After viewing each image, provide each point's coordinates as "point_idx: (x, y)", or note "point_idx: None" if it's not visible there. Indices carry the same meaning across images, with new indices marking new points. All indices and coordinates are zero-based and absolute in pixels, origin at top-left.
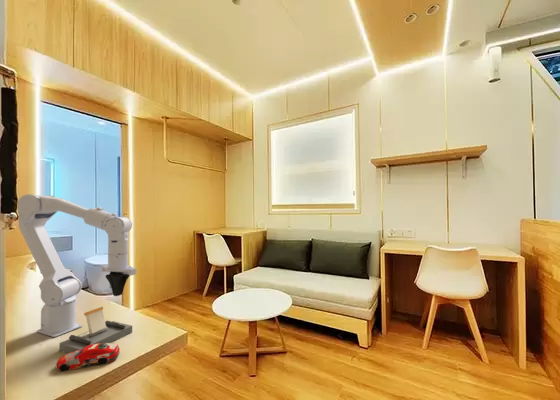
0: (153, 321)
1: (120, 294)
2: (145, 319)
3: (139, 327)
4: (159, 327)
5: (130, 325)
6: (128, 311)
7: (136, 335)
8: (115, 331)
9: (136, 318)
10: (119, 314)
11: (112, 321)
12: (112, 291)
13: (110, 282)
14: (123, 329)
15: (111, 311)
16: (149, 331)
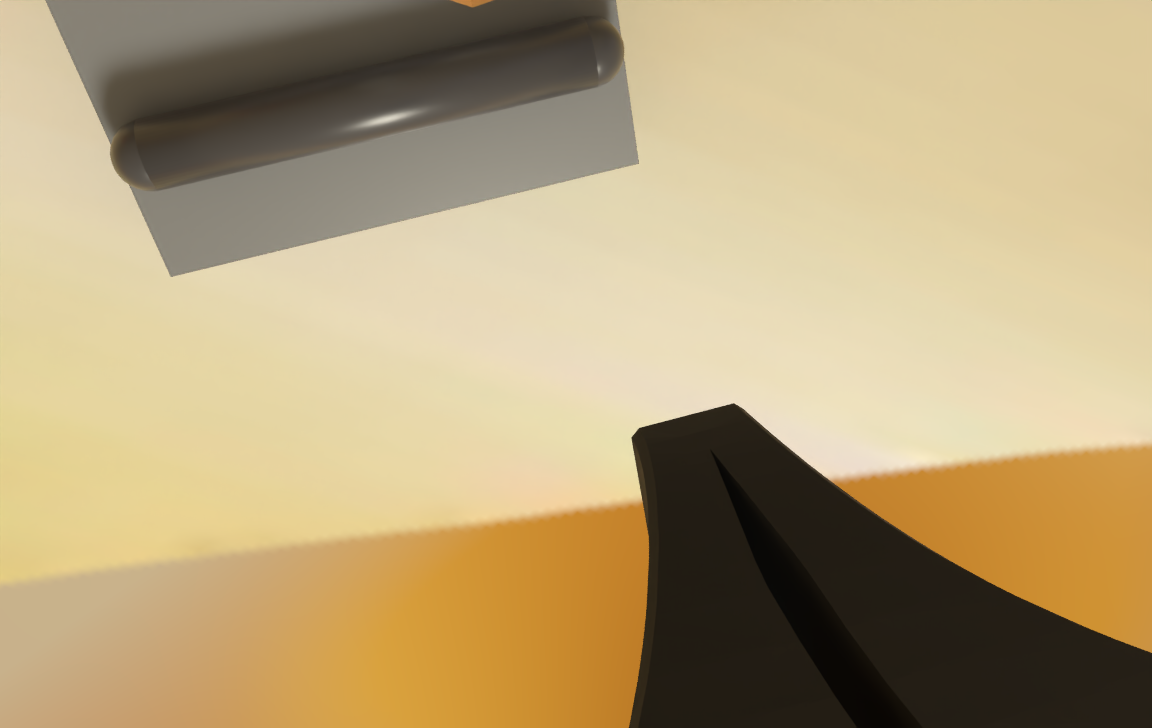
0: (324, 522)
1: (647, 524)
2: (480, 485)
3: (277, 350)
4: (51, 503)
5: (205, 262)
6: (929, 445)
7: (11, 224)
8: (138, 13)
9: (618, 429)
10: (952, 346)
11: (629, 152)
12: (787, 455)
13: (954, 626)
14: (116, 131)
15: (1144, 318)
16: (15, 383)
